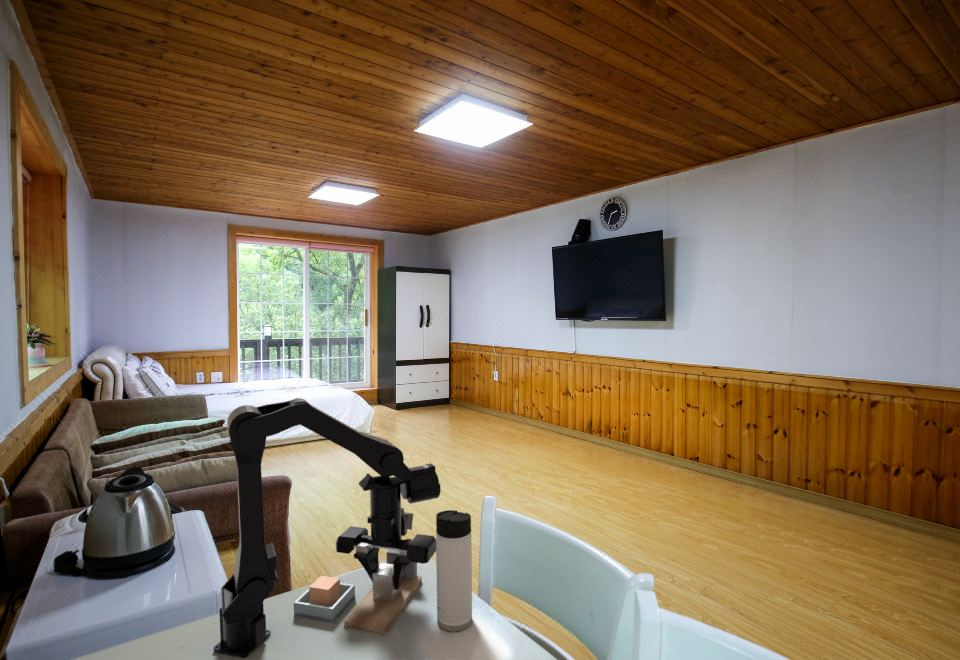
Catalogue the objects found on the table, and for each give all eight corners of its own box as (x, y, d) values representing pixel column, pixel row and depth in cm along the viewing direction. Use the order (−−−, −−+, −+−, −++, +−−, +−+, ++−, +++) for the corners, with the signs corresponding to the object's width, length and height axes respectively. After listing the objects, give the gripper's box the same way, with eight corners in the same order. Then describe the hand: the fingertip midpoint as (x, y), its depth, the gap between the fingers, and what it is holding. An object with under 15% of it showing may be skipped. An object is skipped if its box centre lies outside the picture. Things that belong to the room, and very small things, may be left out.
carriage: (373, 599, 97) (372, 573, 96) (382, 587, 101) (381, 562, 100) (392, 602, 96) (392, 576, 95) (401, 590, 100) (400, 565, 99)
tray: (294, 615, 93) (293, 602, 93) (318, 591, 101) (318, 579, 101) (333, 622, 91) (332, 609, 91) (355, 597, 99) (354, 584, 99)
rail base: (344, 626, 90) (343, 593, 90) (385, 576, 107) (385, 548, 106) (385, 633, 88) (385, 600, 88) (421, 581, 105) (421, 552, 104)
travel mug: (429, 627, 90) (427, 516, 89) (448, 607, 96) (447, 502, 95) (460, 637, 87) (459, 523, 86) (478, 616, 93) (477, 509, 92)
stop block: (309, 607, 95) (309, 586, 95) (321, 595, 99) (321, 575, 98) (328, 611, 94) (328, 590, 94) (340, 598, 98) (339, 578, 97)
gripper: (445, 496, 103) (446, 571, 103) (361, 488, 107) (363, 560, 108) (426, 519, 92) (427, 603, 93) (333, 509, 97) (335, 589, 97)
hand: (387, 587), depth 98 cm, fingers closed on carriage, 4 cm apart
